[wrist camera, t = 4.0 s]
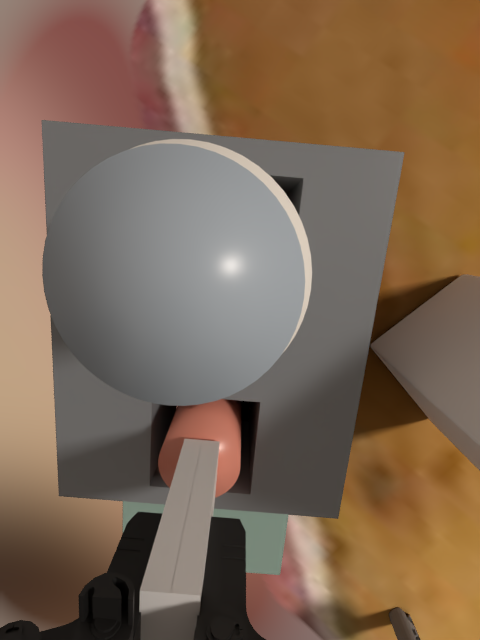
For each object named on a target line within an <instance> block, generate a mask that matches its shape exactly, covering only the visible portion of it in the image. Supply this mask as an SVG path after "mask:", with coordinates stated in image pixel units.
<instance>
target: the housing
mask: <svg viewBox="0 0 480 640" xmlns="http://www.w3.org/2000/svg"><path fill="white" fill-rule="evenodd" d="M42 139H43V160H44V179H45V180H44V182H45V204H46V224H47V233H48V230H49V227H50V223H51V221H52V219H53V217H54V215H55V212H56V210H57V208H58V206H59V205H60V203H61V202H62V200H63V199H64V197H65V195H66V194H67V193H68V191H69V190H70V189H71V188H72V187H73V186H74V184H75V183H76V182H77V181H78V180H79V179H80V178H81V177H82V176H83V175H85V174H86V173H87V172H88V171H89V170H90V169H92V168H93V167H94V166H96V165H98V164H99V163H101V162H102V161H104V160H106V159H107V158H109V157H111V156H114V155H116V154H118V153H120V152H123V151H125V150H129V149H131V148H133V147H136V146H139V145H142V144H146V143H149V142H153V141H160V140H168V139H191V140H197V141H204V142H209V143H212V144H216V145H219V146H222V147H225V148H228V149H230V150H232V151H234V152H236V153H238V154H240V155H242V156H244V157H246V158H247V159H249V160H250V161H252V162H253V163H255V164H256V165H258V166H259V167H260V168H261V169H263V170H264V171H265V172H266V173H267V174H268V175H270V176H271V177H272V178H273V179H274V180H275V182H276V183H277V184H278V185H279V186H280V187H281V188H282V189H283V191H284V192H285V193H286V195H287V196H288V198H289V199H290V201H291V202H292V204H293V205H294V207H295V209H296V211H297V213H298V215H299V217H300V219H301V221H302V224H303V227H304V230H305V233H306V235H307V238H308V243H309V248H310V253H311V263H312V282H311V292H310V297H309V302H308V307H307V310H306V312H305V315H304V318H303V321H302V323H301V325H300V327H299V329H298V331H297V333H296V335H295V337H294V338H293V340H292V341H291V343H290V344H289V346H288V347H287V349H286V350H285V351H284V352H283V353H282V355H281V356H280V358H279V359H278V360H277V361H276V362H275V363H274V364H273V366H272V367H271V368H270V369H269V370H268V371H267V372H266V373H264V374H263V375H262V376H261V377H260V378H259V379H258V380H256V381H255V382H253V383H252V384H250V385H249V386H247V387H246V388H244V389H243V390H241V391H239V392H237V393H235V394H233V395H231V396H228V397H225V398H222V399H228V400H240V401H251V405H250V415H249V421H242V420H241V461H240V473H239V476H238V479H237V481H236V482H235V484H234V485H233V486H232V487H231V488H230V489H229V490H228V491H227V492H226V493H224V494H222V495H220V496H218V497H216V498H215V503H214V509H226V510H238V511H251V512H263V513H275V514H288V515H300V516H313V517H325V518H337V519H338V516H339V510H340V505H341V499H342V494H343V488H344V483H345V477H346V472H347V466H348V461H349V455H350V450H351V444H352V439H353V433H354V428H355V422H356V417H357V411H358V406H359V400H360V395H361V389H362V384H363V378H364V373H365V367H366V361H367V356H368V350H369V345H370V339H371V334H372V328H373V323H374V317H375V312H376V306H377V301H378V295H379V290H380V284H381V279H382V273H383V268H384V262H385V257H386V251H387V246H388V240H389V235H390V229H391V224H392V218H393V212H394V207H395V201H396V196H397V190H398V185H399V179H400V174H401V168H402V163H403V157H404V152H395V151H384V150H373V149H361V148H350V147H339V146H328V145H317V144H305V143H294V142H283V141H272V140H260V139H249V138H238V137H227V136H215V135H204V134H193V133H182V132H171V131H159V130H148V129H137V128H126V127H114V126H103V125H91V124H81V123H69V122H58V121H46V120H42ZM51 333H52V355H53V377H54V396H55V397H54V398H55V418H56V440H57V464H58V485H59V496H65V497H77V498H90V499H102V500H114V501H127V502H139V503H151V504H164V505H165V503H166V500H167V497H168V493H169V490H170V488H169V487H168V486H167V485H166V483H165V482H164V480H163V479H162V477H161V475H160V472H159V467H158V459H159V454H160V451H161V448H162V446H163V443H164V440H165V438H166V435H167V433H168V430H169V427H170V425H171V422H172V420H173V417H174V415H175V412H176V409H177V406H169V405H162V404H155V403H150V402H147V401H143V400H139V399H136V398H134V397H131V396H129V395H126V394H124V393H122V392H120V391H118V390H116V389H114V388H112V387H110V386H109V385H107V384H106V383H104V382H103V381H101V380H100V379H99V378H97V377H96V376H95V375H93V374H92V373H91V372H90V371H89V370H88V369H87V368H86V367H84V366H83V365H82V364H81V362H80V361H79V360H78V359H77V358H76V357H75V356H74V355H73V353H72V352H71V351H70V349H69V348H68V346H67V345H66V344H65V342H64V341H63V339H62V337H61V335H60V334H59V332H58V330H57V328H56V326H55V324H54V322H53V319H52V316H51Z"/></svg>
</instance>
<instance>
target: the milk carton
mask: <svg viewBox="0 0 480 640" xmlns="http://www.w3.org/2000/svg"><path fill="white" fill-rule="evenodd" d="M370 347H371V348H372V350H373V351H374V352H375V353H376V354H377V356H378V357H379V358H380V359H381V361H382V362H383V363H384V364H385V366H386V367H387V368H388V369H389V370H390V372H391V373H392V374H393V375H394V377H395V378H396V379H397V380H398V381H399V383H400V384H401V385H402V386H403V388H404V389H405V390H406V391H407V392H408V394H409V395H410V396H411V397H412V399H413V400H414V401H415V402H416V404H417V405H418V406H419V407H420V408H421V410H422V411H423V412H424V413H425V415H426V416H427V417H428V418H429V419H430V421H431V422H432V423H433V424H434V425H435V426H436V427H437V428H438V429H439V430H440V431H441V432H442V433H443V434H444V435H445V436H446V437H447V438H448V439H449V440H450V441H451V442H452V443H453V444H454V445H455V446H456V447H457V448H458V449H459V450H460V451H461V452H462V453H463V454H464V455H465V456H466V457H467V458H468V459H469V460H470V461H471V462H472V463H473V464H474V465H475V466H476V467H477V468H478V469H479V470H480V277H477V276H472V275H465V274H464V275H461V276H460V277H458V278H457V279H455V280H454V281H453V282H451V283H450V284H449V285H447V286H446V287H445V288H444V289H442V290H441V291H440V292H438V293H437V294H436V295H434V296H433V297H432V298H430V299H429V300H428V301H426V302H425V303H424V304H422V305H421V306H420V307H419V308H417V309H416V310H415V311H413V312H412V313H411V314H409V315H408V316H407V317H405V318H404V319H403V320H401V321H400V322H399V323H397V324H396V325H395V326H394V327H392V328H391V329H390V330H388V331H387V332H386V333H384V334H383V335H382V336H380V337H379V338H378V339H376V340H375V341H374V342H373V343H372V344H371V346H370Z"/></svg>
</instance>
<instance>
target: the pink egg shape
mask: <svg viewBox="0 0 480 640" xmlns="http://www.w3.org/2000/svg"><path fill="white" fill-rule="evenodd" d="M241 406H242V401H240V400H228V399H220V400H217V401H213V402H209V403H204V404H199V405H188V406H178V407H177V409H176V412H175V415H174V417H173V420H172V422H171V425H170V427H169V430H168V433H167V435H166V438H165V440H164V443H163V446H162V448H161V451H160V454H159V459H158V467H159V472H160V475H161V477H162V479H163V480H164V482H165V483H166V485H167V486H168V487H169V488H170V486H171V483H172V480H173V476H174V473H175V470H176V466H177V463H178V459H179V456H180V453H181V449H182V446H183V442H184V439H196V440H208V441H220V443H219V456H218V468H217V481H216V494H215V498H216V497H218V496H220V495H222V494H224V493H226V492H227V491H228V490H229V489H230V488H231V487H232V486H233V485H234V484H235V482H236V481H237V479H238V476H239V473H240V461H241Z"/></svg>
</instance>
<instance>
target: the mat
mask: <svg viewBox="0 0 480 640" xmlns="http://www.w3.org/2000/svg"><path fill="white" fill-rule="evenodd" d="M164 507H165V505H164V504H151V503H139V502H127V501H123V532H124V530H125V527H126V525H127V523H128V522H129V521H130V520H131V518H132V517H133V516H134V515H135V514H136V513H137V512H150V513H162V514H163V510H164ZM213 517H224V518H236V519H240V520H241V523H242V525H243V527H244V529H245V531H246V572H249V573H261V574H274V575H280V571H281V564H282V557H283V549H284V542H285V535H286V528H287V521H288V514H275V513H263V512H251V511H238V510H226V509H214V512H213Z"/></svg>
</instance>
